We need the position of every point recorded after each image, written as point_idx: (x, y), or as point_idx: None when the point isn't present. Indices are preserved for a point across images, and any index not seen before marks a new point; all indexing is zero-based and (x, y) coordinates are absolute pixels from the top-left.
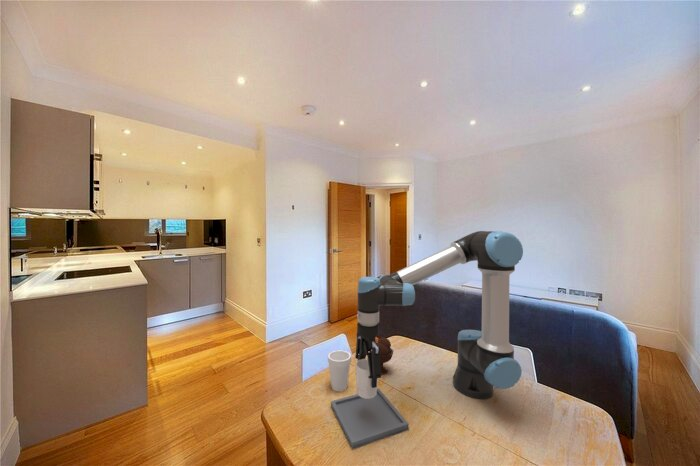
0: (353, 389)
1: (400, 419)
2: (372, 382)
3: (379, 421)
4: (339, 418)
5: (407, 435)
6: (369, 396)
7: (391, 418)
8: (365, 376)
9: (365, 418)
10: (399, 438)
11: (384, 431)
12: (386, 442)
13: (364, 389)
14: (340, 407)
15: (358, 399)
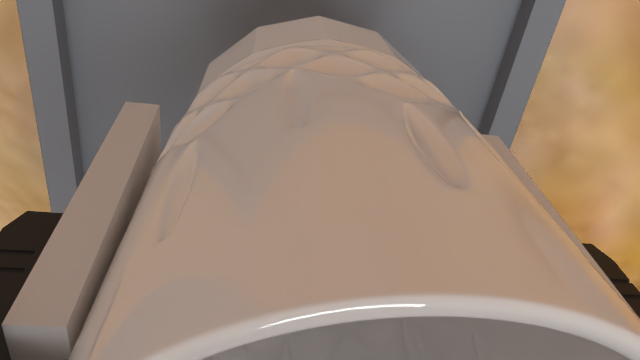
0: (620, 116)
1: None
2: (3, 278)
3: (184, 95)
4: None
5: (27, 188)
6: (125, 106)
7: None
8: (121, 262)
9: (262, 14)
10: (16, 132)
11: (29, 61)
12: (2, 32)
13: (197, 101)
14: None
15: (485, 83)
